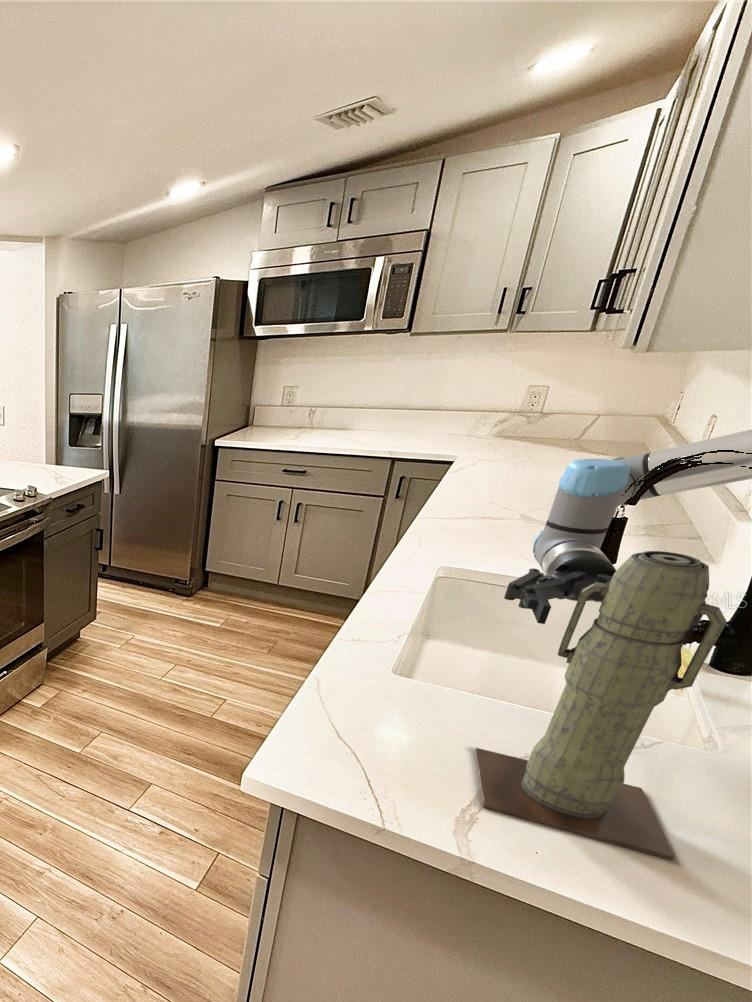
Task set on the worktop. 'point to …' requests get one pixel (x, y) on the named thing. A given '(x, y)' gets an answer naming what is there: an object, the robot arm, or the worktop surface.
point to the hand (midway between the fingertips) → (612, 624)
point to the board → (620, 825)
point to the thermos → (619, 678)
